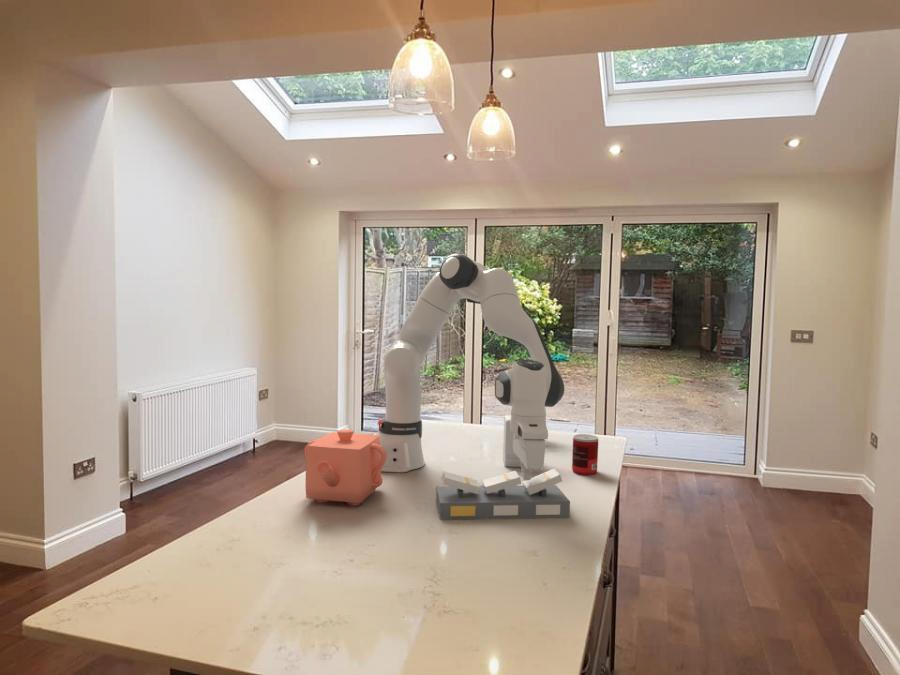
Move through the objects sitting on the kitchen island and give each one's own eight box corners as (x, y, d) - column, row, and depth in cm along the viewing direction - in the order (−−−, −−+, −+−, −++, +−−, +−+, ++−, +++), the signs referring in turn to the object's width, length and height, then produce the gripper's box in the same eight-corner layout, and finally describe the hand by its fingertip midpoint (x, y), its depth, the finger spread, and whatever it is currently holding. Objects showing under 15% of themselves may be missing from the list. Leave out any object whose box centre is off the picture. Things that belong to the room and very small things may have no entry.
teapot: (365, 521, 150) (366, 447, 148) (277, 513, 154) (277, 441, 153) (395, 489, 174) (396, 426, 173) (318, 483, 179) (318, 421, 177)
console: (440, 519, 152) (440, 496, 152) (436, 501, 165) (436, 480, 165) (569, 517, 155) (570, 495, 155) (555, 499, 168) (556, 479, 168)
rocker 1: (443, 484, 155) (445, 477, 155) (441, 477, 161) (443, 470, 161) (477, 494, 156) (479, 486, 156) (474, 487, 162) (476, 479, 162)
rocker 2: (487, 493, 157) (485, 486, 156) (483, 486, 162) (481, 479, 162) (521, 483, 157) (519, 476, 157) (517, 477, 163) (515, 470, 163)
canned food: (595, 468, 199) (596, 434, 198) (598, 476, 191) (600, 440, 190) (570, 467, 199) (571, 433, 199) (573, 475, 192) (574, 439, 191)
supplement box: (532, 467, 199) (534, 420, 197) (504, 467, 199) (505, 420, 198) (529, 460, 208) (531, 415, 207) (502, 459, 208) (503, 414, 207)
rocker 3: (529, 495, 158) (526, 488, 158) (524, 488, 163) (522, 481, 163) (562, 481, 158) (559, 474, 158) (556, 474, 164) (553, 467, 164)
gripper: (508, 416, 169) (506, 467, 170) (523, 433, 149) (521, 491, 150) (531, 416, 170) (529, 467, 171) (550, 434, 149) (547, 491, 150)
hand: (526, 478), depth 160 cm, fingers closed
